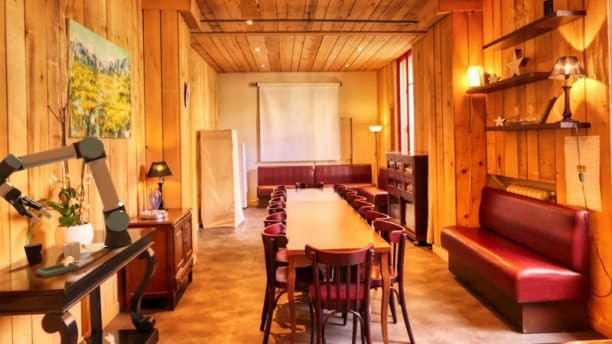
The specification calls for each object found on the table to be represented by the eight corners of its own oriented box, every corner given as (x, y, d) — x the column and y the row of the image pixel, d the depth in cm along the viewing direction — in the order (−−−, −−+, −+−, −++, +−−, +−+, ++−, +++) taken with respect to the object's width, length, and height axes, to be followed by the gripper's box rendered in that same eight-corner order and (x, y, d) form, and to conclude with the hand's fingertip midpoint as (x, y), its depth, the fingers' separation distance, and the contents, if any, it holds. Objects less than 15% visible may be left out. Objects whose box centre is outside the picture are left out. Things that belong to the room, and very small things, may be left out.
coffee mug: (36, 265, 240) (33, 246, 239) (22, 265, 241) (19, 247, 241) (52, 259, 251) (50, 240, 250) (39, 259, 253) (36, 241, 252)
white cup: (77, 264, 232) (74, 244, 232) (61, 265, 233) (59, 246, 232) (85, 259, 240) (82, 241, 239) (70, 261, 240) (67, 242, 240)
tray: (68, 265, 230) (68, 262, 230) (79, 269, 220) (78, 265, 220) (37, 273, 220) (37, 269, 220) (46, 277, 210) (46, 273, 210)
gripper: (17, 196, 244) (51, 221, 246) (-10, 201, 219) (27, 229, 221) (26, 185, 244) (60, 210, 246) (0, 189, 219) (37, 217, 221)
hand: (44, 219), depth 234 cm, fingers open, 13 cm apart
